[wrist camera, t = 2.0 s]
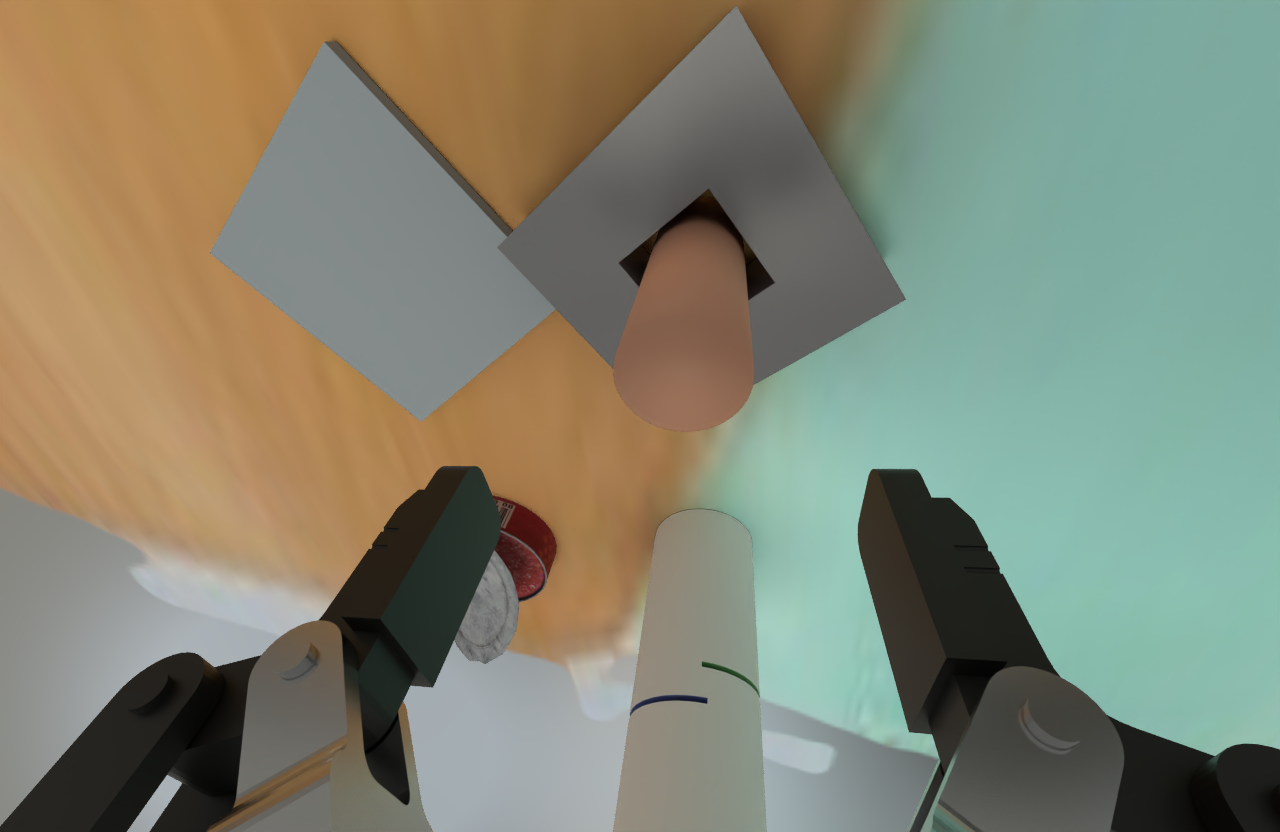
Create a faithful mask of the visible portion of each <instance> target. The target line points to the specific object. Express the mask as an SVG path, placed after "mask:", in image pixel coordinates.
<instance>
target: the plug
mask: <svg viewBox="0 0 1280 832" xmlns="http://www.w3.org/2000/svg"><path fill="white" fill-rule="evenodd" d="M613 376H614V381H615V385H616V388H617V391H618V393H619V395H620V397H621V398H622V400H623V401H624V403H625V404H626V405H627V406H628V407H629V408H630V410H632V411H633V412H634V413H635V414H636V415H637V416H639V417H640V418H642V419H643V420H645V421H647V422H648V423H650V424H653V425H655V426H657V427H660V428H664V429H668V430H673V431H681V432H691V431H700V430H704V429H708V428H711V427H714V426H717V425H719V424H721V423H723V422H725V421H726V420H728V419H730V418H731V417H732V416H734V415H735V414H736V413H737V412H738V411H739V410H740V409H741V408H742V406H743V405H744V404H745V402H746V401H747V399H748V397H749V395H750V393H751V390H752V387H753V382H754V363H753V351H752V339H751V327H750V315H749V303H748V291H747V280H746V268H745V256H744V244H743V236H742V235H741V234H740V232H739V231H738V229H737V228H736V226H735V225H734V224H733V222H732V221H731V219H730V218H729V217H728V215H727V214H726V212H725V211H724V209H723V208H722V207H721V205H720V204H719V202H718V201H717V200H716V199H713V198H709V197H698V198H697V199H695V200H694V201H693V202H692V203H691V204H689V205H688V206H687V207H686V208H684V209H683V210H682V211H681V212H680V213H678V214H677V215H676V216H675V217H674V218H672V219H671V220H670V221H669V222H667V223H666V224H665V225H664V226H663V227H661V228H660V230H659V233H658V236H657V239H656V242H655V244H654V247H653V250H652V253H651V256H650V258H649V261H648V264H647V267H646V270H645V272H644V275H643V278H642V281H641V284H640V287H639V289H638V292H637V295H636V298H635V301H634V303H633V306H632V309H631V312H630V315H629V318H628V320H627V323H626V326H625V329H624V332H623V334H622V337H621V340H620V343H619V346H618V349H617V351H616V355H615V358H614V364H613Z"/></svg>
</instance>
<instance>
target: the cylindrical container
mask: <svg viewBox="0 0 1280 832" xmlns="http://www.w3.org/2000/svg"><path fill="white" fill-rule="evenodd" d="M759 698H760V692H759V672H758V653H757V633H756V613H755V594H754V574H753V554H752V540H751V536H750V534H749V532H748V530H747V529H746V528H745V526H744V525H743V524H741V523H740V522H739V521H738V520H736V519H735V518H733V517H731V516H729V515H727V514H724V513H721V512H718V511H713V510H706V509H691V510H686V511H681V512H678V513H675V514H673V515H671V516H669V517H668V518H666V519H665V520H664V521H663V522H662V523H661V524H660V525H659V527H658V529H657V532H656V536H655V543H654V550H653V556H652V563H651V570H650V577H649V584H648V591H647V598H646V605H645V612H644V619H643V626H642V633H641V640H640V647H639V654H638V662H637V668H636V675H635V682H634V689H633V696H632V703H631V710H630V719H629V724H628V731H627V738H626V745H625V752H624V759H623V765H622V772H621V779H620V787H619V793H618V800H617V807H616V814H615V821H614V828H613V832H767V830H766V812H765V811H766V810H765V791H764V772H763V771H764V770H763V751H762V731H761V712H760V699H759Z"/></svg>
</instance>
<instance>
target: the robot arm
mask: <svg viewBox="0 0 1280 832" xmlns="http://www.w3.org/2000/svg"><path fill="white" fill-rule="evenodd" d="M500 532H501V517H500V513H499V510H498V508H497V506H496V503H495V501H494V498H493V496H492V494H491V491H490V489H489V486H488V484H487V482H486V479H485V477H484V474H483V472H482V471H481V469H480V468H479V467H477V466H443V467H441V468H440V469H438V470H437V472H436V473H435V475H434V476H433V478H432V479H431V481H430V482H429V484H428V485H427V487H426V488H425V490H418V491H417V492H415V493H414V494H413V495H412V496H411V497H410V498H408V499H407V500H406V501H405V502H404V503H402V504H401V505H400V506H399V507H398V508H397V509H396V511H395V512H394V514H393V515H392V517H391V518H390V519H389V521H388V522H387V524H386V525H385V527H384V531H383V532H380V534H379V535H378V537H377V538H376V540H375V541H374V542H373V544H372V549H369V550H368V551H367V553H366V554H365V555H364V557H363V558H362V560H361V561H360V563H359V564H358V566H357V567H356V568H355V570H354V571H353V573H352V574H351V576H350V577H349V579H348V580H347V581H346V583H345V584H344V586H343V587H342V589H341V590H340V591H339V593H338V594H337V596H336V597H335V599H334V600H333V602H332V603H331V604H330V606H329V607H328V609H327V610H326V612H325V613H324V614H323V616H322V617H321V618H320V619H319V620H318V621H312V622H308V623H305V624H302V625H300V626H297V627H296V628H294V629H292V630H290V631H288V632H287V633H285V634H284V635H282V636H281V637H280V638H278V639H277V640H276V641H275V642H274V643H273V644H272V645H270V646H269V648H268V649H267V650H266V651H265V652H264V653H263V654H262V655H260V656H257V657H253V658H249V659H245V660H242V661H237V662H233V663H230V664H226V665H222V666H218V667H213V666H212V665H211V664H209V663H208V662H207V661H205V660H204V659H203V658H202V657H201V656H199V655H198V654H195V653H189V652H187V653H179V654H175V655H172V656H169V657H166V658H164V659H162V660H160V661H158V662H156V663H154V664H153V665H151V666H149V667H147V668H146V669H145V670H143V671H142V672H140V673H139V674H138V675H136V676H135V677H134V678H132V679H131V680H130V681H129V682H128V683H127V684H126V685H125V686H123V687H122V689H121V690H120V691H119V692H118V693H117V694H116V695H115V696H114V697H113V698H112V699H111V701H110V702H109V703H108V704H107V705H106V706H105V707H104V709H103V710H102V711H101V712H100V713H99V714H98V716H97V717H96V718H95V719H94V720H93V721H92V722H91V724H90V725H89V726H88V727H87V728H86V729H85V730H84V731H83V733H82V734H81V735H80V736H79V737H78V738H77V740H76V741H75V742H74V743H73V744H72V745H71V746H70V747H69V749H68V750H67V751H66V752H65V753H64V754H63V755H62V757H61V758H60V759H59V760H58V761H57V762H56V763H55V765H54V766H53V767H52V768H51V769H50V770H49V771H48V773H47V774H46V775H45V776H44V777H43V778H42V779H41V781H40V782H39V783H38V784H37V785H36V786H35V787H34V788H33V790H32V791H31V792H30V793H29V794H28V795H27V796H26V798H25V799H24V800H23V801H22V802H21V803H20V805H19V806H18V807H17V808H16V809H15V810H14V811H13V813H12V814H11V815H10V816H9V817H8V818H7V819H6V820H5V822H4V823H3V824H2V825H1V826H0V832H127V830H128V829H129V828H130V826H131V825H132V823H133V822H134V820H135V819H136V818H137V816H138V815H139V813H140V812H141V811H142V809H143V808H144V806H145V805H146V804H147V802H148V801H149V799H150V798H151V797H152V795H153V793H154V792H155V791H156V789H157V788H158V787H159V785H160V784H161V782H162V781H163V780H164V778H165V777H166V775H169V776H171V777H173V778H174V779H176V780H178V781H180V782H182V785H181V786H180V788H179V789H178V791H177V792H176V794H175V795H174V797H173V798H172V800H171V801H170V803H169V804H168V806H167V807H166V808H165V810H164V811H163V813H162V814H161V816H160V817H159V819H158V820H157V822H156V823H155V825H154V826H153V828H152V829H151V831H150V832H433V831H432V828H431V826H430V825H429V823H428V821H427V818H426V816H425V813H424V810H423V807H422V802H421V797H420V790H419V784H418V777H417V771H416V765H415V758H414V752H413V746H412V740H411V734H410V728H409V721H408V716H407V709H406V706H405V704H404V702H403V700H404V698H405V696H406V694H407V692H408V690H409V687H410V685H412V686H423V687H433V686H434V684H435V682H436V680H437V677H438V675H439V673H440V670H441V668H442V666H443V664H444V661H445V659H446V657H447V655H448V653H449V650H450V648H451V646H452V643H453V641H454V639H455V637H456V635H457V632H458V630H459V628H460V626H461V623H462V621H463V619H464V617H465V614H466V612H467V610H468V608H469V605H470V603H471V601H472V599H473V596H474V594H475V592H476V590H477V587H478V585H479V583H480V581H481V578H482V576H483V574H484V572H485V569H486V567H487V565H488V563H489V561H490V558H491V556H492V554H493V552H494V549H495V547H496V545H497V543H498V540H499V537H500ZM858 544H859V550H860V555H861V559H862V562H863V566H864V570H865V573H866V577H867V580H868V584H869V588H870V591H871V595H872V599H873V602H874V606H875V610H876V613H877V617H878V620H879V624H880V628H881V631H882V635H883V639H884V642H885V646H886V650H887V653H888V657H889V661H890V664H891V668H892V671H893V675H894V679H895V682H896V686H897V690H898V693H899V697H900V701H901V704H902V708H903V711H904V715H905V719H906V722H907V726H908V730H909V732H913V733H924V734H932V735H933V738H934V742H935V745H936V748H937V751H938V755H939V758H940V759H939V761H938V763H937V765H936V767H935V769H934V772H933V774H932V776H931V778H930V781H929V783H928V785H927V788H926V790H925V792H924V794H923V796H922V799H921V801H920V803H919V805H918V808H917V810H916V812H915V814H914V817H913V819H912V821H911V823H910V826H909V828H908V830H907V832H1280V750H1279V749H1276V748H1273V747H1268V746H1263V745H1259V744H1239V745H1234V746H1231V747H1229V748H1227V749H1225V750H1224V751H1222V752H1221V753H1219V754H1218V755H1216V756H1213V755H1210V754H1207V753H1204V752H1201V751H1199V750H1196V749H1193V748H1190V747H1187V746H1184V745H1182V744H1179V743H1176V742H1173V741H1170V740H1167V739H1165V738H1162V737H1159V736H1156V735H1153V734H1151V733H1148V732H1145V731H1142V730H1139V729H1136V728H1134V727H1131V726H1129V725H1126V724H1124V723H1122V722H1119V721H1118V720H1116V719H1114V718H1112V717H1110V716H1108V715H1106V714H1105V712H1104V711H1103V710H1102V709H1101V708H1100V707H1099V706H1098V705H1097V703H1095V702H1094V701H1093V700H1092V699H1091V698H1090V697H1089V696H1088V695H1087V694H1085V693H1084V692H1083V691H1081V690H1080V689H1079V688H1077V687H1076V686H1075V685H1073V684H1071V683H1070V682H1068V681H1066V680H1065V679H1063V678H1061V677H1060V676H1059V674H1058V673H1057V672H1056V671H1055V669H1054V668H1053V666H1052V665H1051V663H1050V661H1049V660H1048V658H1047V656H1046V654H1045V652H1044V650H1043V649H1042V647H1041V645H1040V643H1039V641H1038V639H1037V637H1036V635H1035V634H1034V632H1033V630H1032V628H1031V626H1030V624H1029V622H1028V620H1027V619H1026V617H1025V615H1024V613H1023V611H1022V609H1021V607H1020V605H1019V603H1018V602H1017V600H1016V598H1015V596H1014V594H1013V592H1012V590H1011V588H1010V587H1009V585H1008V583H1007V581H1006V579H1005V577H1004V575H1003V574H1000V571H999V569H1000V568H999V566H998V564H997V562H996V560H995V558H994V557H993V555H992V553H991V551H988V545H987V543H986V542H985V540H984V538H983V536H982V534H981V532H980V530H979V528H978V527H977V525H976V523H975V521H974V520H973V519H972V518H971V517H970V516H969V515H968V514H967V513H966V512H965V511H964V510H962V509H961V508H960V507H959V506H958V505H957V504H956V503H955V502H954V501H953V500H951V499H950V498H931V496H930V493H929V491H928V489H927V487H926V485H925V483H924V480H923V478H922V476H921V474H920V473H919V472H918V471H917V470H915V469H872V470H871V472H870V474H869V477H868V481H867V486H866V490H865V495H864V499H863V504H862V509H861V513H860V518H859V523H858Z"/></svg>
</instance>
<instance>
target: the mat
mask: <svg viewBox="0 0 1280 832" xmlns="http://www.w3.org/2000/svg"><path fill="white" fill-rule="evenodd" d="M511 233H512V230H511V229H510V228H509V227H508V226H507V225H506V224H505V223H504V222H503V221H502V220H501V219H500V218H499V216H498V215H497V214H496V213H495V212H494V211H493V210H492V209H491V208H490V207H489V206H488V205H487V204H486V202H485V201H484V200H483V199H482V198H481V197H480V196H479V195H478V194H477V193H476V192H475V191H474V190H473V188H472V187H471V186H470V185H469V184H468V183H467V182H466V181H465V180H464V179H463V178H462V177H461V176H460V174H459V173H458V172H457V171H456V170H455V169H454V168H453V167H452V166H451V165H450V164H449V163H448V161H447V160H446V159H445V158H444V157H443V156H442V155H441V154H440V153H439V152H438V151H437V150H436V149H435V147H434V146H433V145H432V144H431V143H430V142H429V141H428V140H427V139H426V138H425V137H424V136H423V135H422V133H421V132H420V131H419V130H418V129H417V128H416V127H415V126H414V125H413V124H412V123H411V122H410V121H409V119H408V118H407V117H406V116H405V115H404V114H403V113H402V112H401V111H400V110H399V109H398V108H397V107H396V105H395V104H394V103H393V102H392V101H391V100H390V99H389V98H388V97H387V96H386V95H385V94H384V92H383V91H382V90H381V89H380V88H379V87H378V86H377V85H376V84H375V83H374V82H373V81H372V80H371V78H370V77H369V76H368V75H367V74H366V73H365V72H364V71H363V70H362V69H361V68H360V67H359V66H358V64H357V63H356V62H355V61H354V60H353V59H352V58H351V57H350V56H349V55H348V54H347V53H346V52H345V50H344V49H343V48H342V47H341V46H340V45H339V44H338V43H337V42H324V43H323V44H322V46H321V48H320V50H319V52H318V54H317V56H316V57H315V59H314V61H313V63H312V65H311V67H310V69H309V70H308V72H307V74H306V76H305V78H304V80H303V81H302V83H301V85H300V87H299V89H298V91H297V93H296V94H295V96H294V98H293V100H292V102H291V104H290V106H289V107H288V109H287V111H286V113H285V115H284V117H283V119H282V120H281V122H280V124H279V126H278V128H277V130H276V131H275V133H274V135H273V137H272V139H271V141H270V143H269V144H268V146H267V148H266V150H265V152H264V154H263V156H262V157H261V159H260V161H259V163H258V165H257V167H256V169H255V170H254V172H253V174H252V176H251V178H250V180H249V181H248V183H247V185H246V187H245V189H244V191H243V193H242V194H241V196H240V198H239V200H238V202H237V204H236V206H235V207H234V209H233V211H232V213H231V215H230V217H229V218H228V220H227V222H226V224H225V226H224V228H223V230H222V231H221V233H220V235H219V237H218V239H217V241H216V243H215V244H214V246H213V248H212V250H211V252H210V254H212V255H213V256H214V257H215V258H217V259H218V260H219V261H220V262H222V263H223V264H224V265H225V266H227V267H228V268H229V269H230V270H232V271H233V272H234V273H235V274H237V275H238V276H239V277H240V278H242V279H243V280H244V281H245V282H247V283H248V284H249V285H250V286H252V287H253V288H254V289H255V290H257V291H258V292H259V293H260V294H262V295H263V296H264V297H265V298H267V299H268V300H269V301H270V302H272V303H273V304H274V305H275V306H277V307H278V308H279V309H280V310H282V311H283V312H284V313H286V314H287V315H288V316H289V317H291V318H292V319H293V320H294V321H296V322H297V323H298V324H299V325H301V326H302V327H303V328H304V329H306V330H307V331H308V332H309V333H311V334H312V335H313V336H314V337H316V338H317V339H318V340H319V341H321V342H322V343H323V344H324V345H326V346H327V347H328V348H329V349H331V350H332V351H333V352H334V353H336V354H337V355H338V356H339V357H341V358H342V359H343V360H344V361H346V362H347V363H348V364H349V365H351V366H352V367H353V368H354V369H356V370H357V371H358V372H359V373H361V374H362V375H363V376H364V377H366V378H367V379H368V380H369V381H371V382H372V383H373V384H374V385H376V386H377V387H378V388H379V389H381V390H382V391H383V392H385V393H386V394H387V395H388V396H390V397H391V398H392V399H393V400H395V401H396V402H397V403H398V404H400V405H401V406H402V407H403V408H405V409H406V410H407V411H408V412H410V413H411V414H412V415H413V416H415V417H416V418H417V419H418V420H420V421H422V420H424V419H425V418H426V417H427V416H428V415H430V414H431V413H432V412H433V411H434V410H436V409H437V408H438V407H439V406H440V405H442V404H443V403H444V402H445V401H446V400H448V399H449V398H450V397H451V396H452V395H454V394H455V393H456V392H457V391H458V390H460V389H461V388H462V387H463V386H464V385H466V384H467V383H468V382H469V381H470V380H472V379H473V378H474V377H475V376H476V375H478V374H479V373H480V372H481V371H482V370H484V369H485V368H486V367H487V366H488V365H490V364H491V363H492V362H493V361H494V360H496V359H497V358H498V357H499V356H500V355H502V354H503V353H504V352H505V351H506V350H508V349H509V348H510V347H511V346H512V345H514V344H515V343H516V342H517V341H518V340H520V339H521V338H522V337H523V336H524V335H526V334H527V333H528V332H529V331H530V330H532V329H533V328H534V327H535V326H536V325H538V324H539V323H540V322H541V321H542V320H544V319H545V318H546V317H547V316H548V315H550V314H551V313H552V312H553V311H554V310H556V309H555V308H554V307H553V306H552V305H551V303H550V302H549V301H548V300H547V299H546V298H545V297H544V296H543V295H542V294H541V293H540V292H539V291H538V290H537V289H536V288H535V287H534V286H533V285H532V284H531V283H530V282H529V281H528V279H527V278H526V277H525V276H524V275H523V274H522V273H521V272H520V271H519V270H518V269H517V268H516V267H515V266H514V265H513V264H512V263H511V262H510V261H509V260H508V259H507V258H506V257H505V255H504V254H503V253H502V252H501V251H500V250H499V249H498V248H497V247H498V246H499V245H500V244H501V243H502V242H503V241H504V240H505V239H506V238H507V237H508V236H509V235H510V234H511Z"/></svg>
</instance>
